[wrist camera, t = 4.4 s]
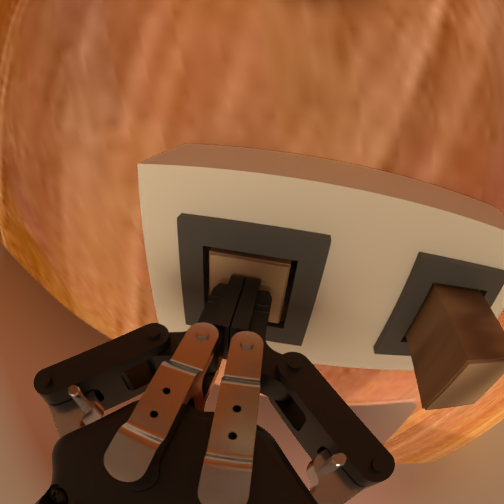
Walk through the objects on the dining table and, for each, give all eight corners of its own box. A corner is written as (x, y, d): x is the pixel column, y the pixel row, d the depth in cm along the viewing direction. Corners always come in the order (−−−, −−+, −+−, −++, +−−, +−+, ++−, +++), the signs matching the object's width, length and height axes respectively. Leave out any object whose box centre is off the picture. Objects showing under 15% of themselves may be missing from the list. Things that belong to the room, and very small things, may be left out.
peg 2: (472, 279, 13) (517, 358, 7) (446, 325, 15) (473, 404, 9) (426, 271, 13) (468, 362, 8) (401, 322, 15) (423, 411, 10)
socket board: (494, 206, 15) (541, 247, 9) (440, 321, 21) (461, 374, 15) (184, 143, 17) (130, 166, 12) (188, 284, 23) (157, 339, 18)
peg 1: (295, 212, 18) (290, 265, 13) (287, 261, 21) (279, 324, 15) (238, 203, 19) (208, 252, 13) (235, 252, 21) (209, 312, 15)
